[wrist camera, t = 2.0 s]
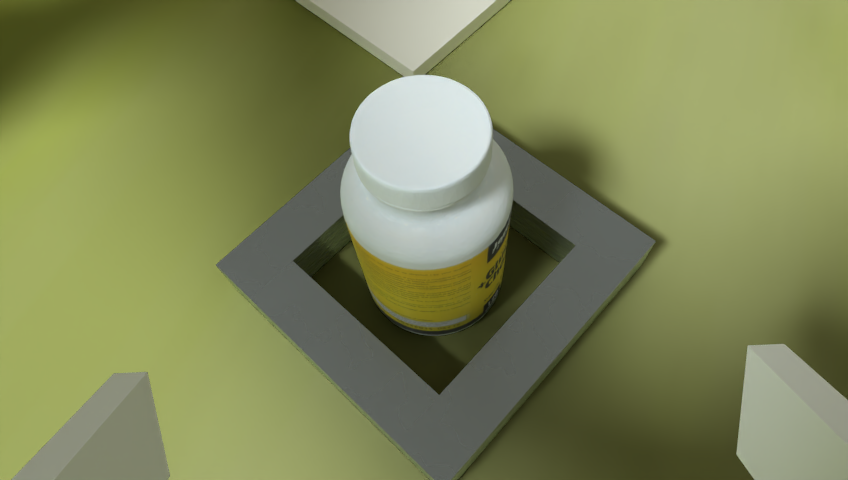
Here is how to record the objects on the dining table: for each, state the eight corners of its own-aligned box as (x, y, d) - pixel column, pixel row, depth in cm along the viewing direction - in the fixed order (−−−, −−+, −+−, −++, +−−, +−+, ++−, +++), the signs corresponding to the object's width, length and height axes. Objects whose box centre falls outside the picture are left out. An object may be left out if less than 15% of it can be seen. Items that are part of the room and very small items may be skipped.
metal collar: (233, 286, 31) (215, 264, 29) (427, 112, 35) (425, 82, 33) (445, 495, 26) (443, 488, 24) (641, 264, 30) (655, 241, 28)
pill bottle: (477, 359, 29) (485, 245, 18) (347, 314, 30) (286, 184, 20) (519, 238, 31) (546, 79, 21) (398, 202, 33) (367, 35, 22)
